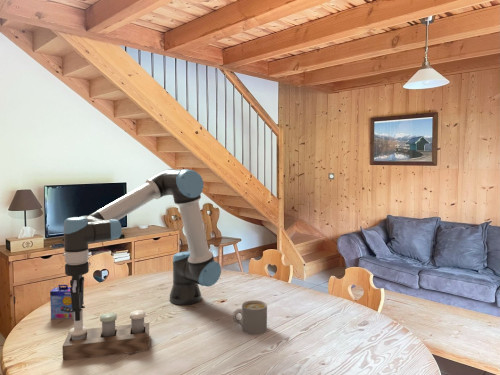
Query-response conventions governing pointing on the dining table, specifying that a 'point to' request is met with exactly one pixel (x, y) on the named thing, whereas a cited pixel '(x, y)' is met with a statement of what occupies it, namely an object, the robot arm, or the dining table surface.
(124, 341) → the panel
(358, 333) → the dining table surface
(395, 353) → the dining table surface
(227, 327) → the dining table surface
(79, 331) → the knob
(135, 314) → the knob
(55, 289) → the ink cartridge box
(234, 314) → the coffee mug
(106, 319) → the knob middle
